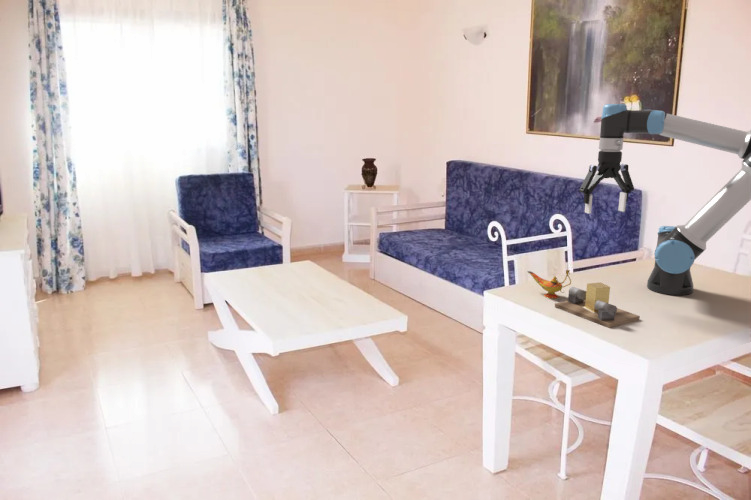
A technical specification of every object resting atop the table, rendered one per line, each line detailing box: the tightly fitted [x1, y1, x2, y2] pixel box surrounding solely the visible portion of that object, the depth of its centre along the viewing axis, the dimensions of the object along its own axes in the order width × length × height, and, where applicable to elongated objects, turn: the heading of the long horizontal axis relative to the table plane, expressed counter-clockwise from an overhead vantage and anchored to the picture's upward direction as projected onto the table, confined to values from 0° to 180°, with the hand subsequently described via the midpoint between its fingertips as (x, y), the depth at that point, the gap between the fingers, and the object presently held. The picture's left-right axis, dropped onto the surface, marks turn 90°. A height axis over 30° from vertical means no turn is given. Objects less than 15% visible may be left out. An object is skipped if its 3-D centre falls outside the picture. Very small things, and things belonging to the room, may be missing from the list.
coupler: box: [585, 282, 611, 312], centre depth 198 cm, size 5×5×8 cm
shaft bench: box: [554, 286, 640, 329], centre depth 199 cm, size 22×14×6 cm, turn 30°
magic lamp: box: [527, 269, 572, 299], centre depth 216 cm, size 7×18×11 cm, turn 40°
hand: (604, 212), depth 215 cm, fingers open, 13 cm apart
